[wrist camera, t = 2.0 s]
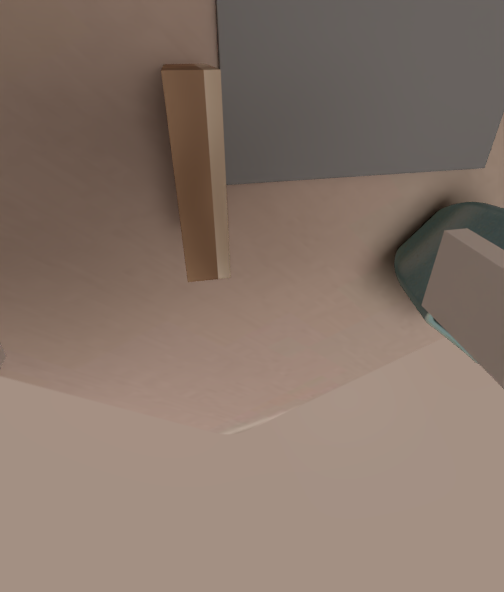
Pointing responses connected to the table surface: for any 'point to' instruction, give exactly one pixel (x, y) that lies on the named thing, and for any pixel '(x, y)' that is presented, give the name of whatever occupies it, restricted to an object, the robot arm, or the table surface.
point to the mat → (358, 86)
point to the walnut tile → (199, 166)
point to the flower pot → (425, 243)
